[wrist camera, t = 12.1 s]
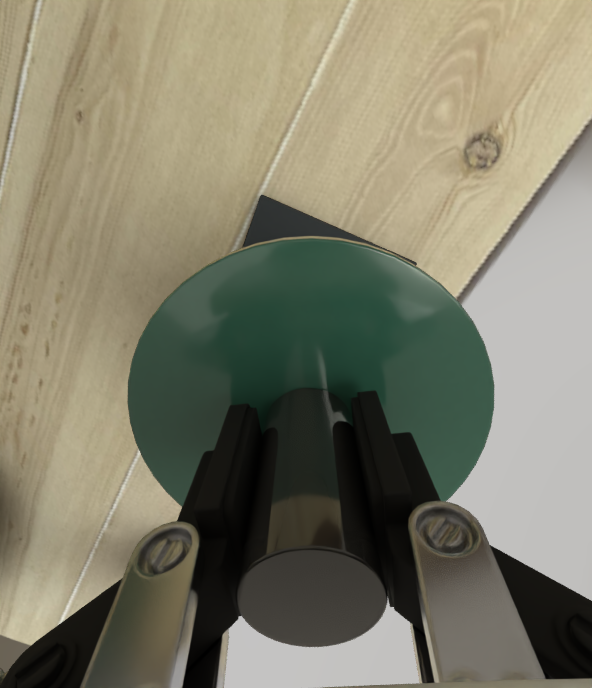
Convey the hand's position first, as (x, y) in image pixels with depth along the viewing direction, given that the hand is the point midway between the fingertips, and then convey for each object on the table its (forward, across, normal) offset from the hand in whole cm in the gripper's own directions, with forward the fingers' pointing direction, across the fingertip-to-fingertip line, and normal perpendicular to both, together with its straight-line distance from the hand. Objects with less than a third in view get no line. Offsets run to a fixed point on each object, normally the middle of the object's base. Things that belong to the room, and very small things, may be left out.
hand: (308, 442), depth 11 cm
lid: (+1, 0, 0) cm, 1 cm away
